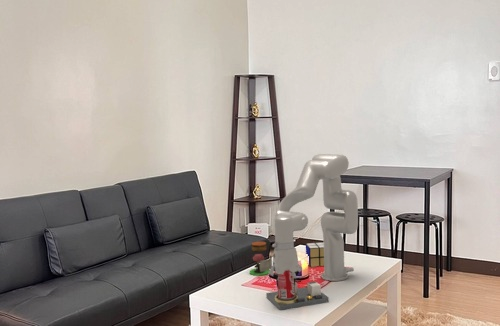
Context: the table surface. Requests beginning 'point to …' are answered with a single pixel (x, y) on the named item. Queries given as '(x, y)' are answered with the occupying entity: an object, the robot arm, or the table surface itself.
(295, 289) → the block
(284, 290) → the soda can
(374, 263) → the table surface
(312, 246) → the puzzle cube
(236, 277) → the table surface
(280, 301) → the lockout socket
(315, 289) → the block
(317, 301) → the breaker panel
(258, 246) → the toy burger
